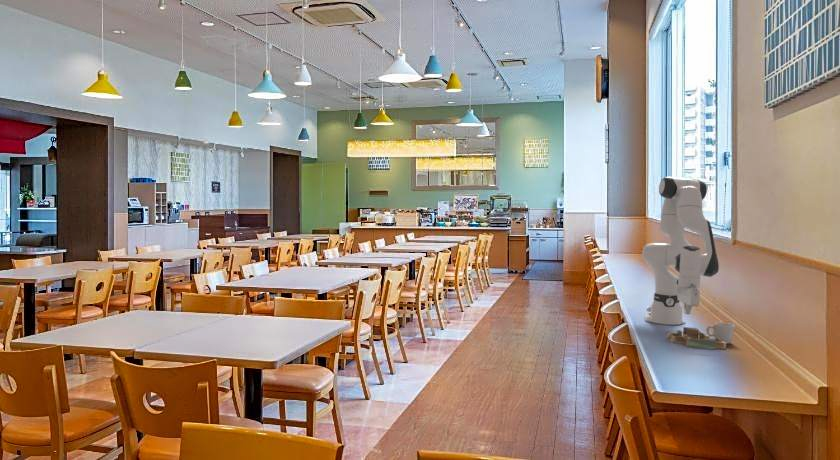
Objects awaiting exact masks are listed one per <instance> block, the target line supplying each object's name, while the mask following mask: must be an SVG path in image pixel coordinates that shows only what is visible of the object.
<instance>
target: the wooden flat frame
mask: <svg viewBox="0 0 840 460" xmlns="http://www.w3.org/2000/svg"><path fill="white" fill-rule="evenodd" d="M710 337H711V336H709V335H708V334H706V333H705V332H704V331H700V330H699V339H692V338H690V337H689V336H688V335H685V334H683V330H680V329H679V330H678V329H677V331H676V332H667V337H666V338H667V340H669V341H670V342H671V343H673V344H684V345H685V346H687V347H688V348H692V349H693V348H694V349H709V350H710V349H711V350H712V349H713V350H716V349H722V350H723V349H725V350H726V349H727V344H726V342H724V341H723V340H721V339H715V337H712V338H710Z"/></svg>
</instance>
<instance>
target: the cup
mask: <svg viewBox="0 0 840 460" xmlns="http://www.w3.org/2000/svg"><path fill="white" fill-rule="evenodd" d="M735 326H736V325H735V324H732V323H729V322H728V323H727V322H715V323H714V324H711V325H708V326H707V328H706V333H707V335H708V336H710V337H712V338H715V339H721V340H723V341H724V342H726V345H730V344H732V342H733V339H734V333H735ZM711 328H712V329H713V333H710V329H711Z"/></svg>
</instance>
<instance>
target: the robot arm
mask: <svg viewBox="0 0 840 460" xmlns="http://www.w3.org/2000/svg"><path fill="white" fill-rule="evenodd" d="M658 193H659V195H660V196H661V197H662V198H664V201H663V205H662V208H661V215H660V225H659V230H660V232H661V234H662V235H664V236H666V237H667V238H669V239H670V243H665V242H664V243H661V242H651V243H647V244H645V245H644V246H643V249H642V251H641V257H642V259H643V261H644V262H645V263H646V264H647V265H648V266H649V267H650V269H652V270H651V271H652V272H653V274H654V282H655V289H654V293H653V301H652V303H651V304H650V305H649V306H647V307H646V312H647V313H648V314H644V318H645V322H650V323H654V324H658V325H659V324H660V325H668V326H671V325H673V326H674V325H675V326H677V325H681V324H682V325H683V324H686V321H685V320H684V319H683V313H684V314H685V315H691V312H692V311H691V310H692V307H699V306H700V299H701V298H700V290H699V288H700V287H701V276H702V277H709V278H710V277H713V276H715V275H717V274H718V273H719V270H720V263H719V259H718V255H717V251H716V246H715V239H714V234H713V230H712V225H711V223H710V221H709V220H708V219H706V218H705V216H704V213H703V200H704V199H705V198H706V196H707V193H708V187H707V184H706V182H705V181H701V180H700V179H692V178H689V177H688V178H687V177H673V176H666V177H663V178H661V181H660V183H659V185H658ZM685 228H686V229H687V230H691V231H693V232H694V233H696V234H699V235H700V236H701V237H702V240H703V245H704V250H705V253H702V250H701V248H700V247H698V246H695V245H691V244H690V242H689V241H688V239H687V237H686V233H685ZM669 267H674V269H675V271H677V273H679V275H678V276H677V275H676V274H674V273H672V272H671V271H670V270H669ZM680 302H681V303H682V304H683V306H682V305H681V304H680ZM683 311H684V312H683Z"/></svg>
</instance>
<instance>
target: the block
mask: <svg viewBox="0 0 840 460" xmlns="http://www.w3.org/2000/svg"><path fill="white" fill-rule="evenodd" d="M699 331H700V330H699V329H698V328H696V327H687V326H683V330H682V335H683V334H685V335H688V336H689V337H690V338H692V339H699Z"/></svg>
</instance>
